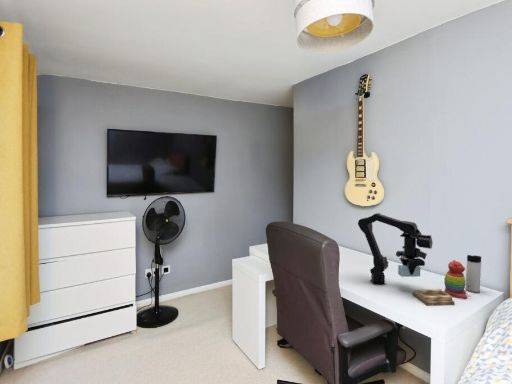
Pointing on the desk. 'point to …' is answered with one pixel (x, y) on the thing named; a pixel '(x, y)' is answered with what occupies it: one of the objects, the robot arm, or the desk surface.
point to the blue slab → (407, 271)
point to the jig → (433, 297)
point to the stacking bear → (455, 280)
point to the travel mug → (473, 273)
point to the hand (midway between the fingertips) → (409, 273)
